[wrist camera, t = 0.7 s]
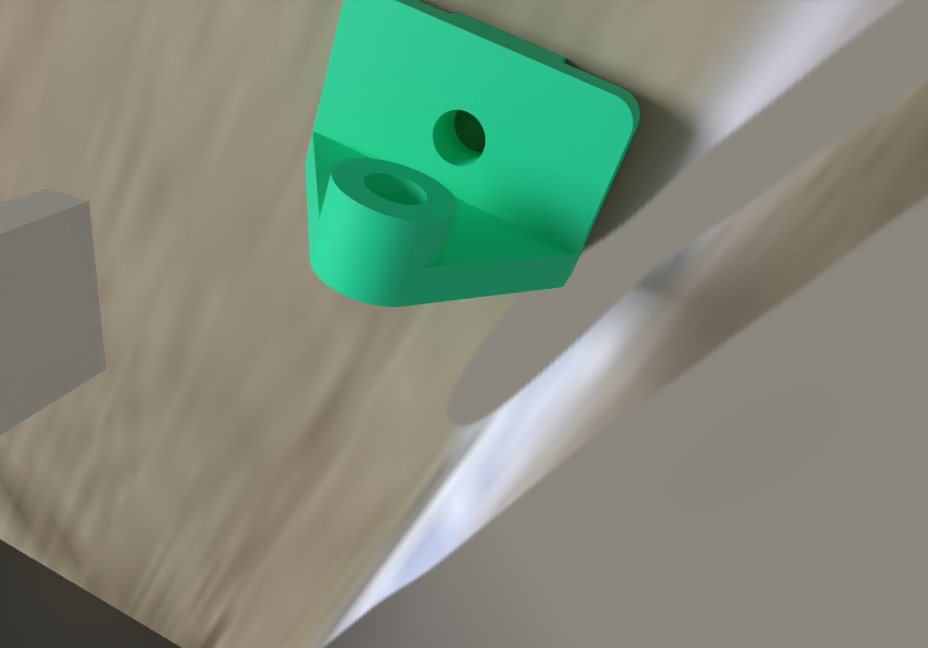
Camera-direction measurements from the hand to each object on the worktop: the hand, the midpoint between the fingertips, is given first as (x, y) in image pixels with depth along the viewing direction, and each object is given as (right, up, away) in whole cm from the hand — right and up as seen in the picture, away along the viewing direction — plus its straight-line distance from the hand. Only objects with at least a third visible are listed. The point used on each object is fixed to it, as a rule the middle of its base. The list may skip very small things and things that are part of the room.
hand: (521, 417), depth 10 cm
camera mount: (0, +9, +24) cm, 26 cm away
